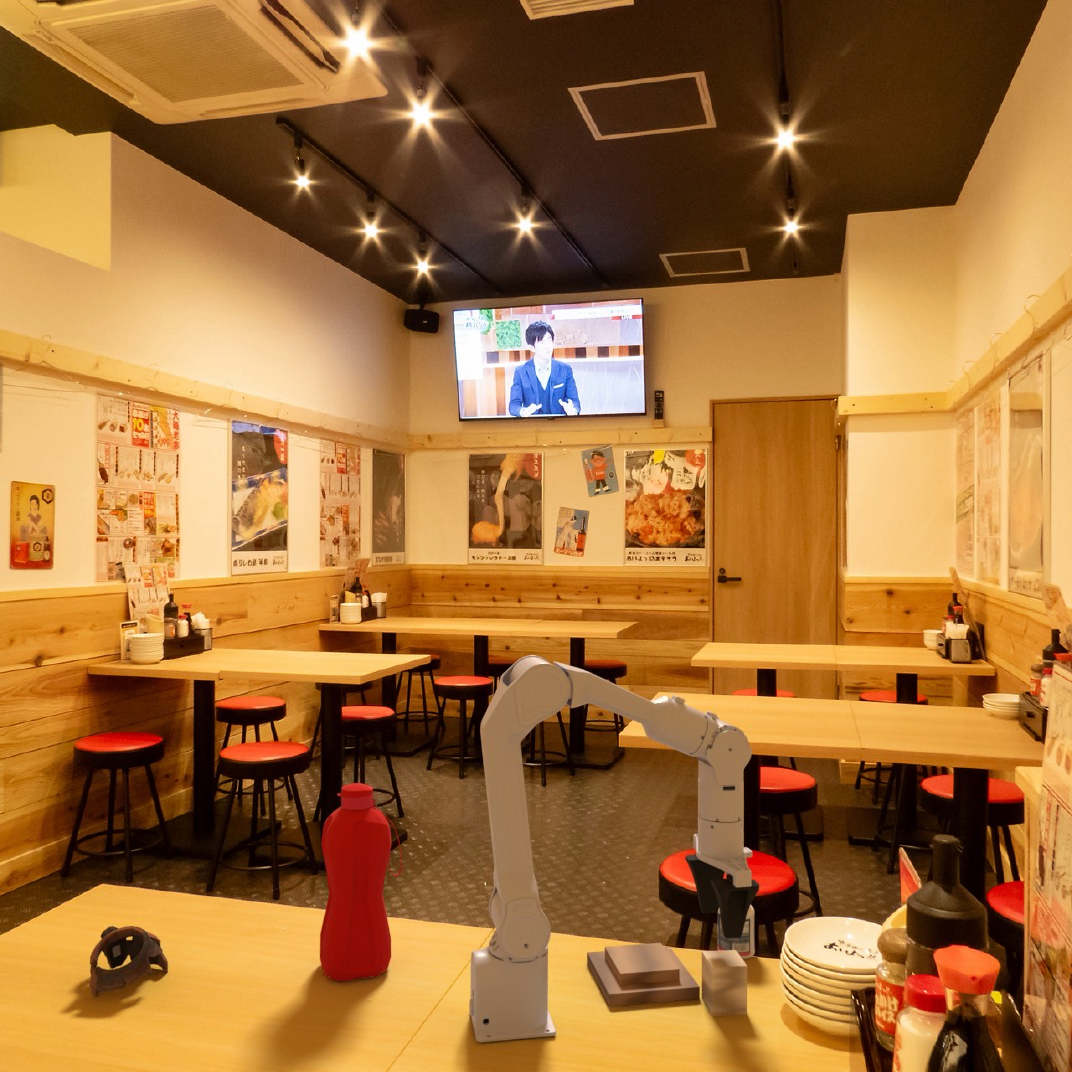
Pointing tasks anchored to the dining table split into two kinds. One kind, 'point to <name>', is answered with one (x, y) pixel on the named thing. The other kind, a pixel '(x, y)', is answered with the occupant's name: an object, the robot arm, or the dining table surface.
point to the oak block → (724, 983)
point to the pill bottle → (745, 942)
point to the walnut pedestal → (641, 975)
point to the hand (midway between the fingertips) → (720, 924)
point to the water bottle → (356, 887)
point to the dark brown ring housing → (124, 958)
